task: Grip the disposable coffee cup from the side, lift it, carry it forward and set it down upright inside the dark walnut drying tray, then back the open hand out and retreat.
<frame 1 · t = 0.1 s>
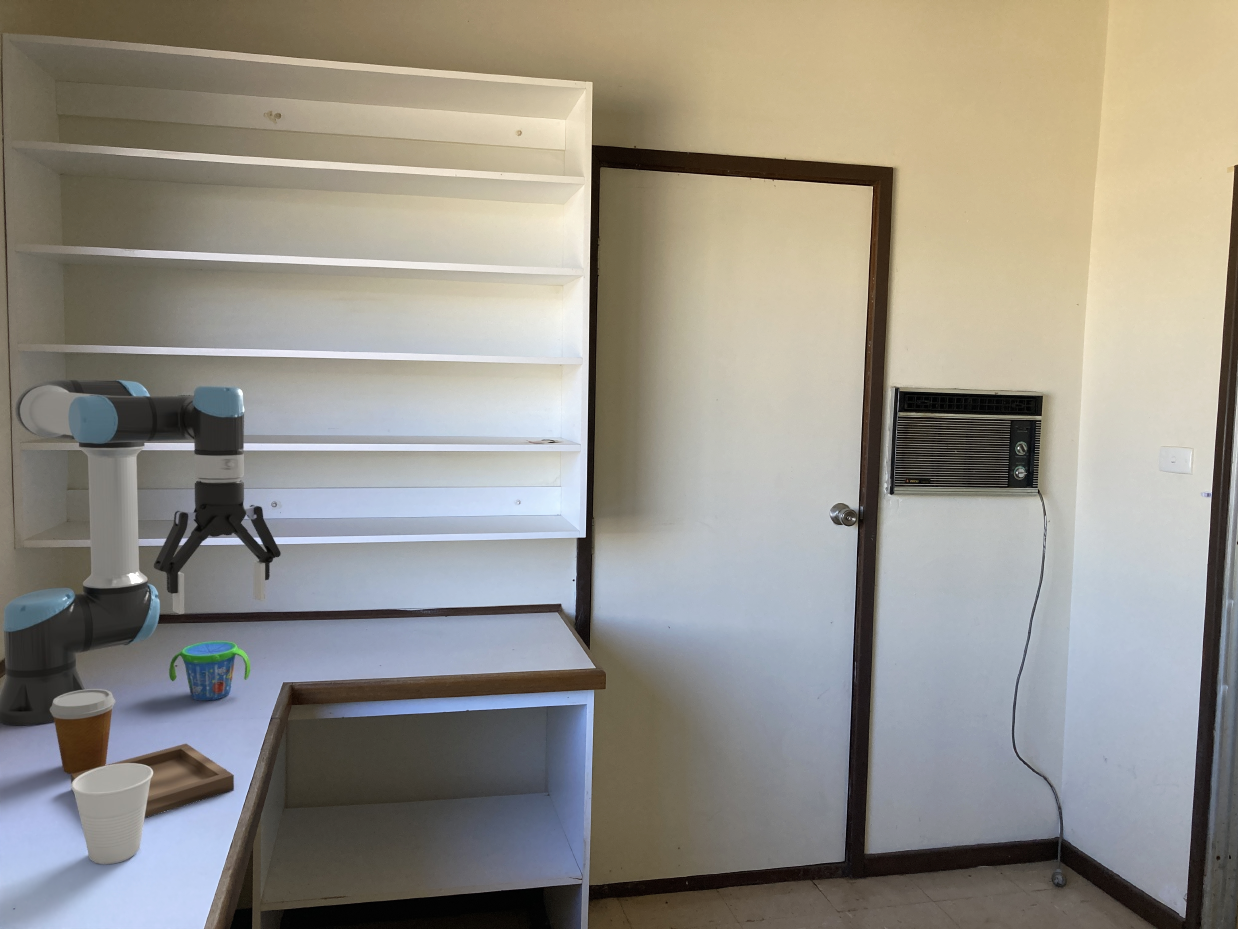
hand: (220, 605, 154), 28 cm above the counter, tool pointing down, fingers open, 13 cm apart
cup: (114, 855, 127), on the counter
snack cup: (210, 696, 191), on the counter
drying tray: (152, 789, 147), on the counter
disposable coffee cup: (84, 767, 155), on the counter
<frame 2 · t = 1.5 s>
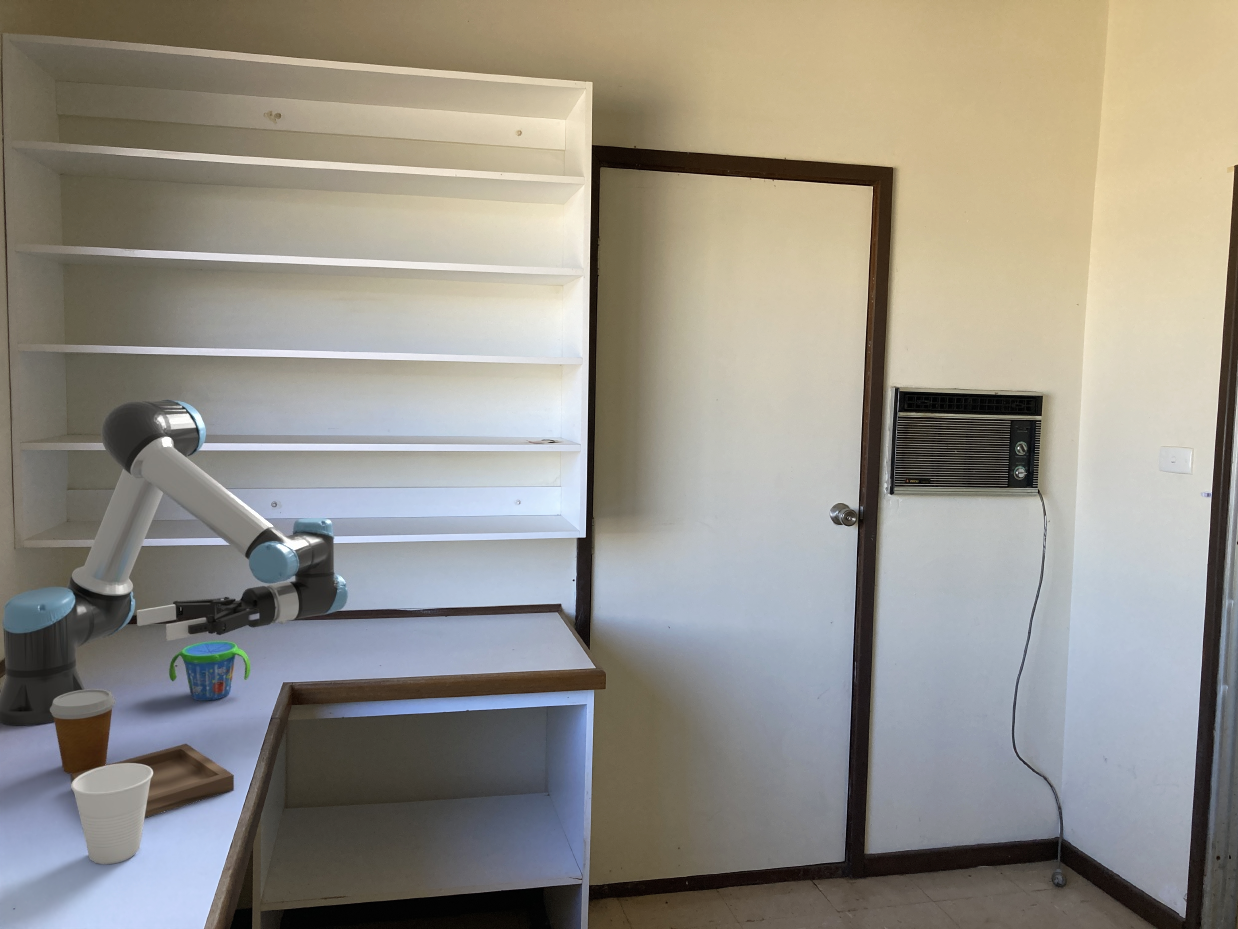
hand: (151, 625, 162), 22 cm above the counter, tool horizontal, fingers open, 13 cm apart
nothing on the counter moved.
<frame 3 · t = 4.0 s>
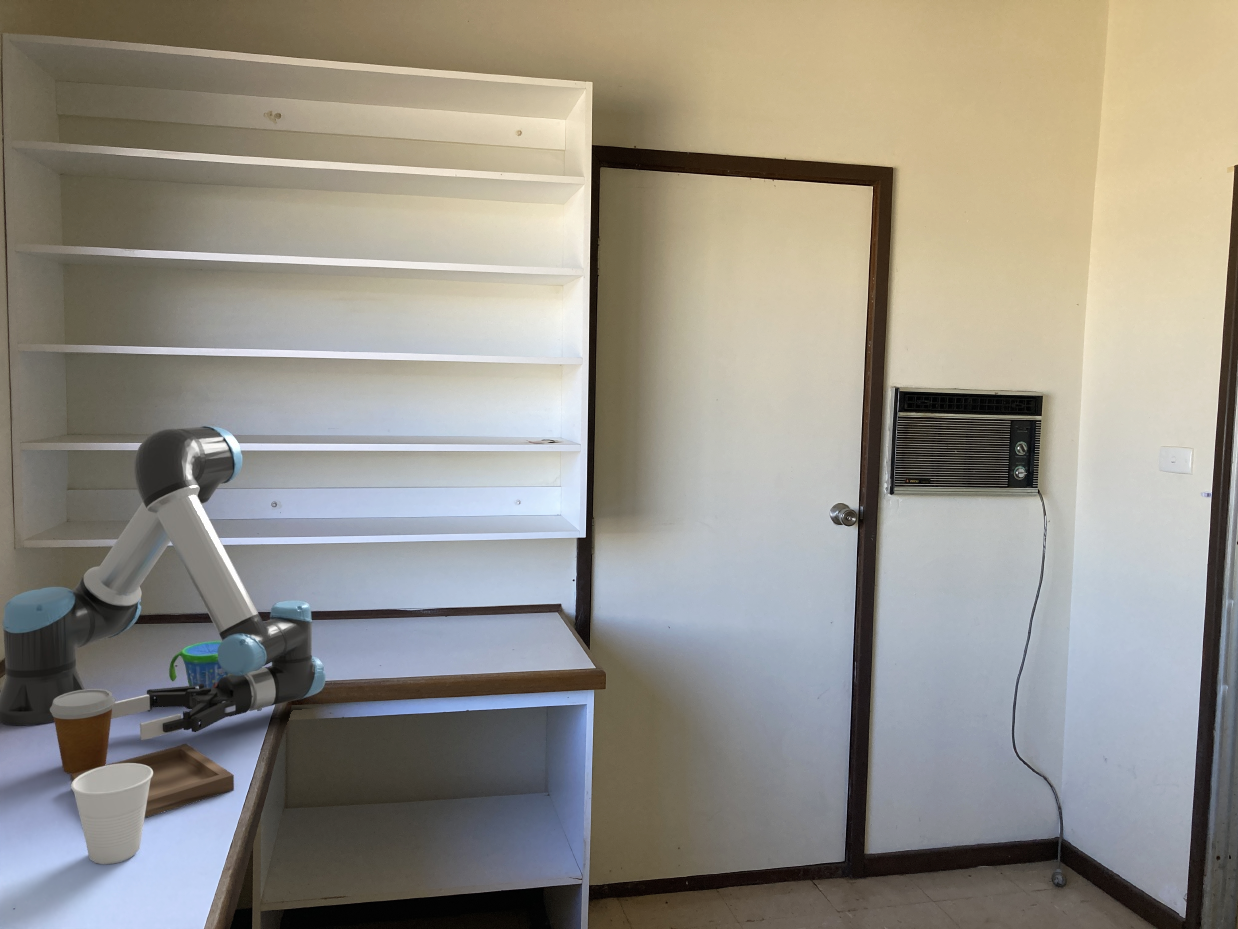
hand: (125, 721, 159), 6 cm above the counter, tool horizontal, fingers open, 13 cm apart
nothing on the counter moved.
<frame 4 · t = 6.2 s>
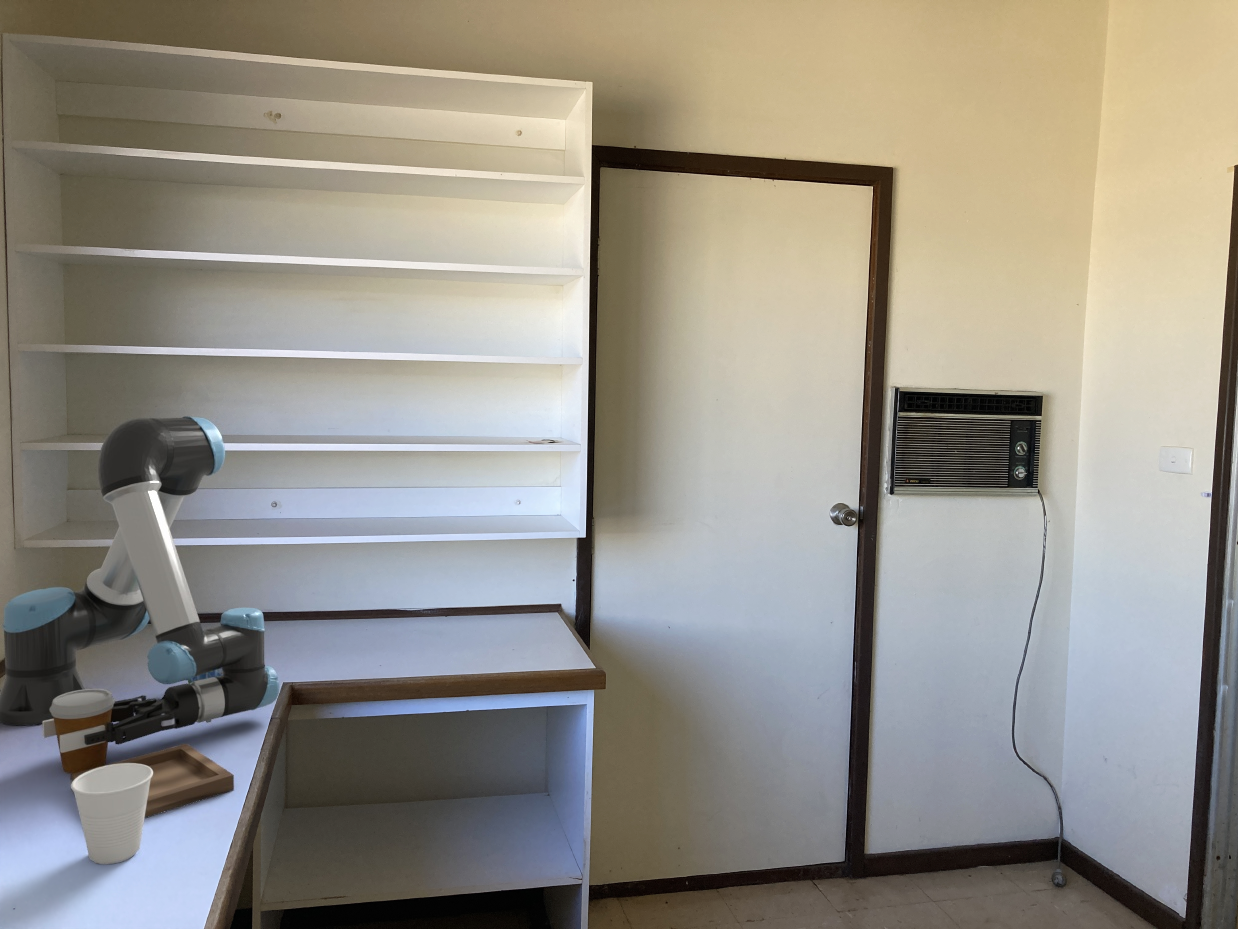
hand: (52, 736, 151), 6 cm above the counter, tool horizontal, fingers closed on disposable coffee cup, 8 cm apart
disposable coffee cup: (84, 767, 155), on the counter, touching gripper
everything else where it was.
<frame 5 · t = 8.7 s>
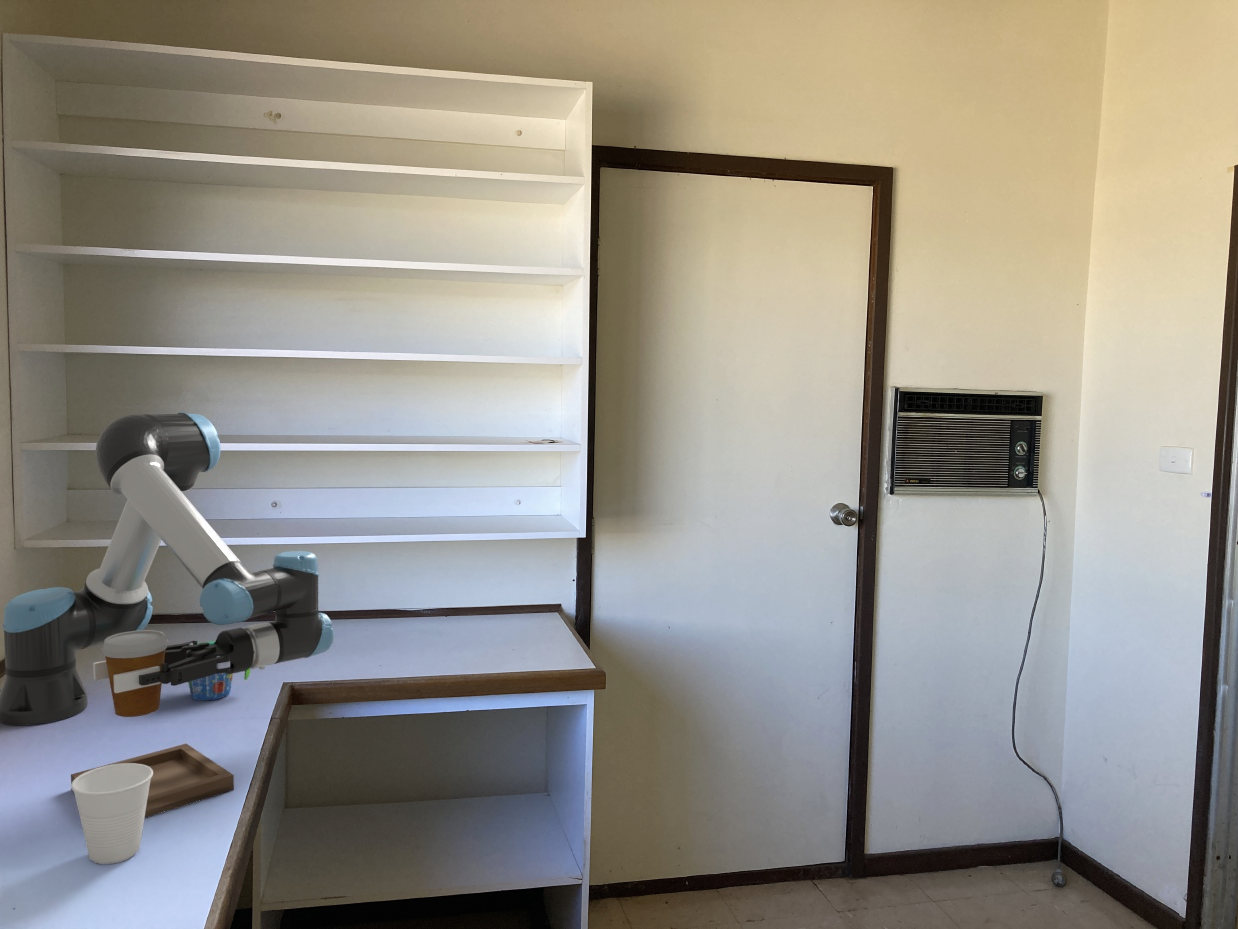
hand: (104, 677, 144), 19 cm above the counter, tool horizontal, fingers closed on disposable coffee cup, 8 cm apart
disposable coffee cup: (137, 711, 148), point 12 cm above the counter, touching gripper
everything else where it was.
when the fingers open (9 cm above the counter, at t = 11.2 s): disposable coffee cup drops 1 cm, resting on drying tray.
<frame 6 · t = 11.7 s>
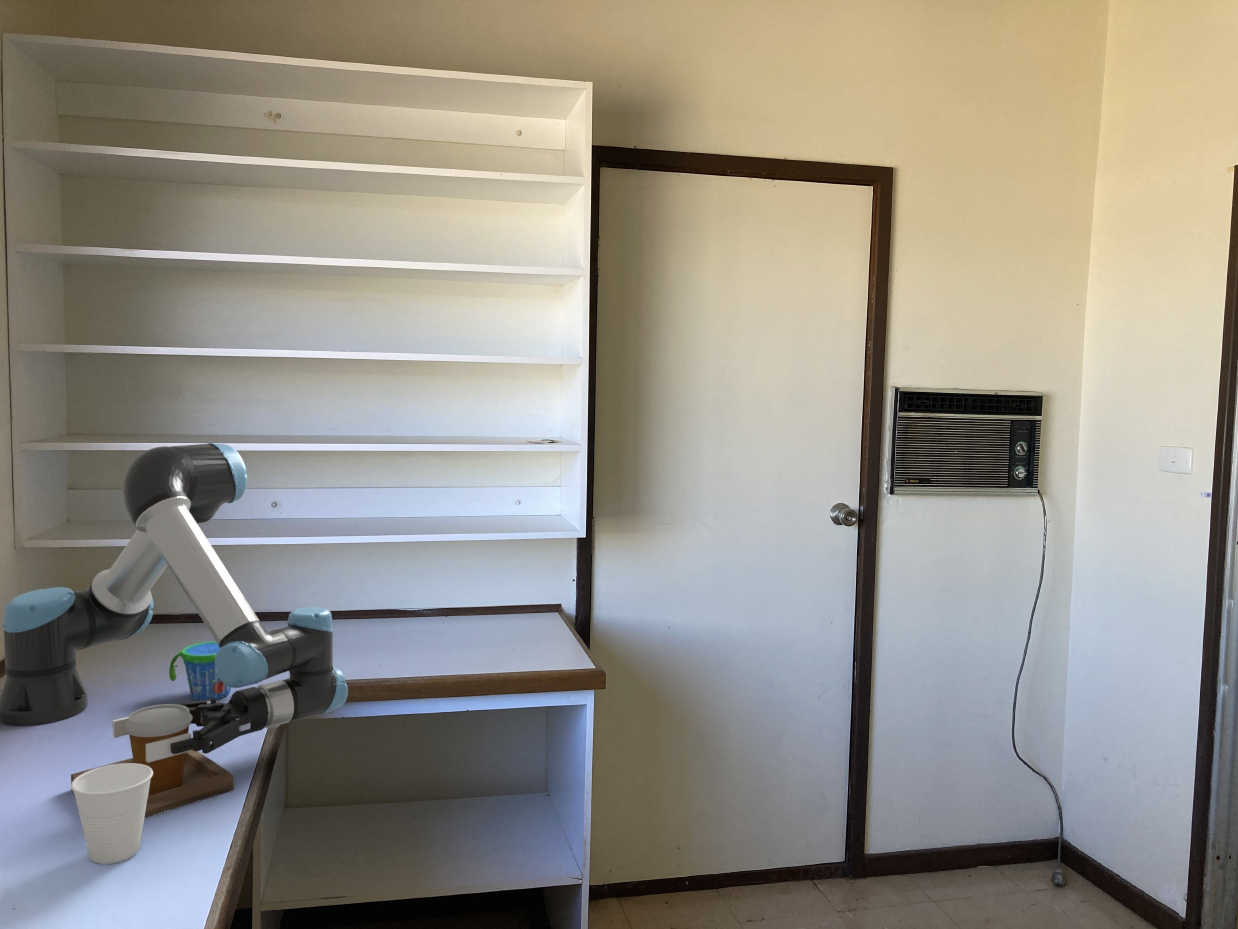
hand: (129, 741, 144), 9 cm above the counter, tool horizontal, fingers open, 13 cm apart
disposable coffee cup: (160, 788, 146), point 1 cm above the counter, touching drying tray, gripper
everything else where it was.
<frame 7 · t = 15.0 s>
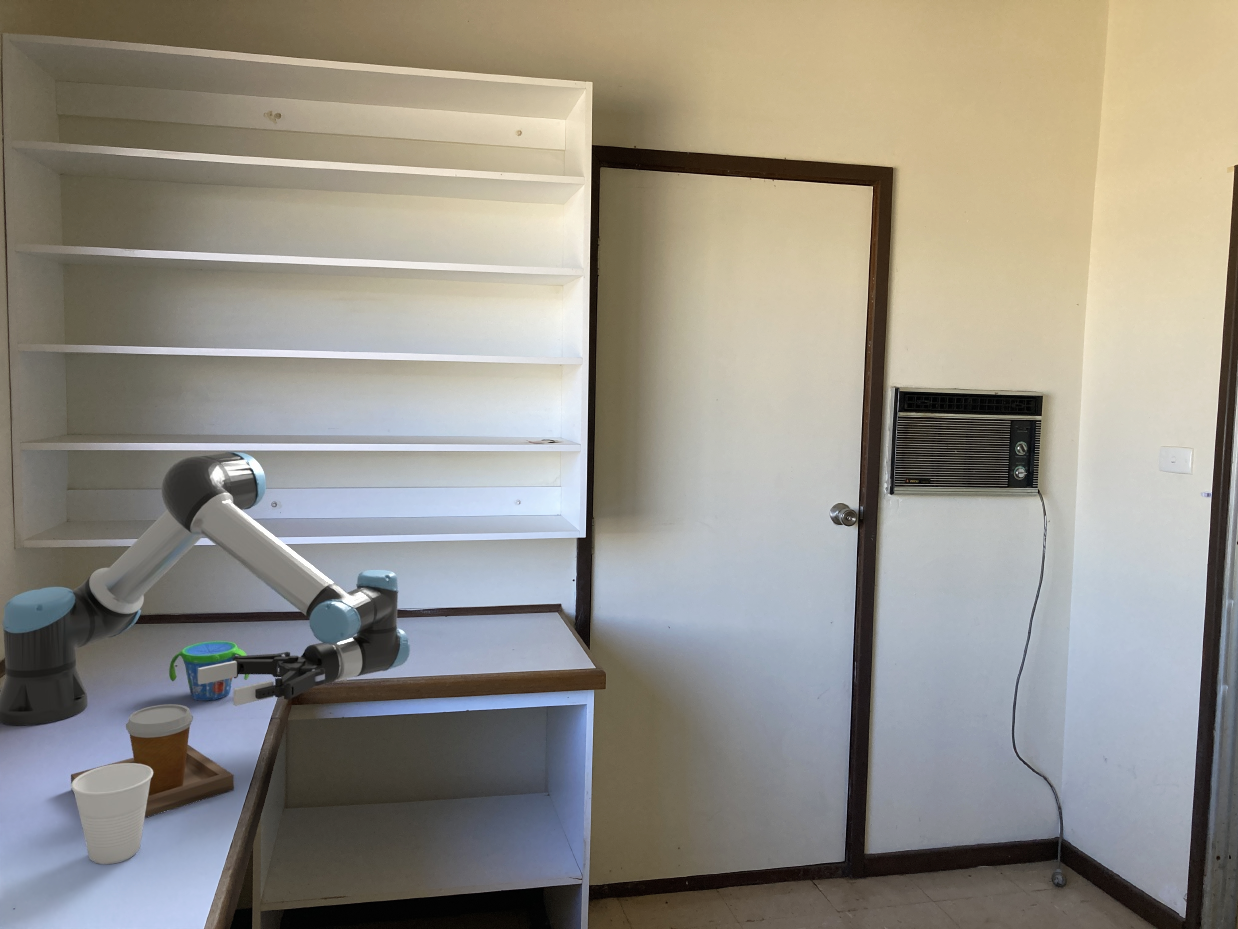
hand: (215, 686, 155), 14 cm above the counter, tool horizontal, fingers open, 13 cm apart
disposable coffee cup: (161, 788, 146), point 1 cm above the counter, touching drying tray
everything else where it was.
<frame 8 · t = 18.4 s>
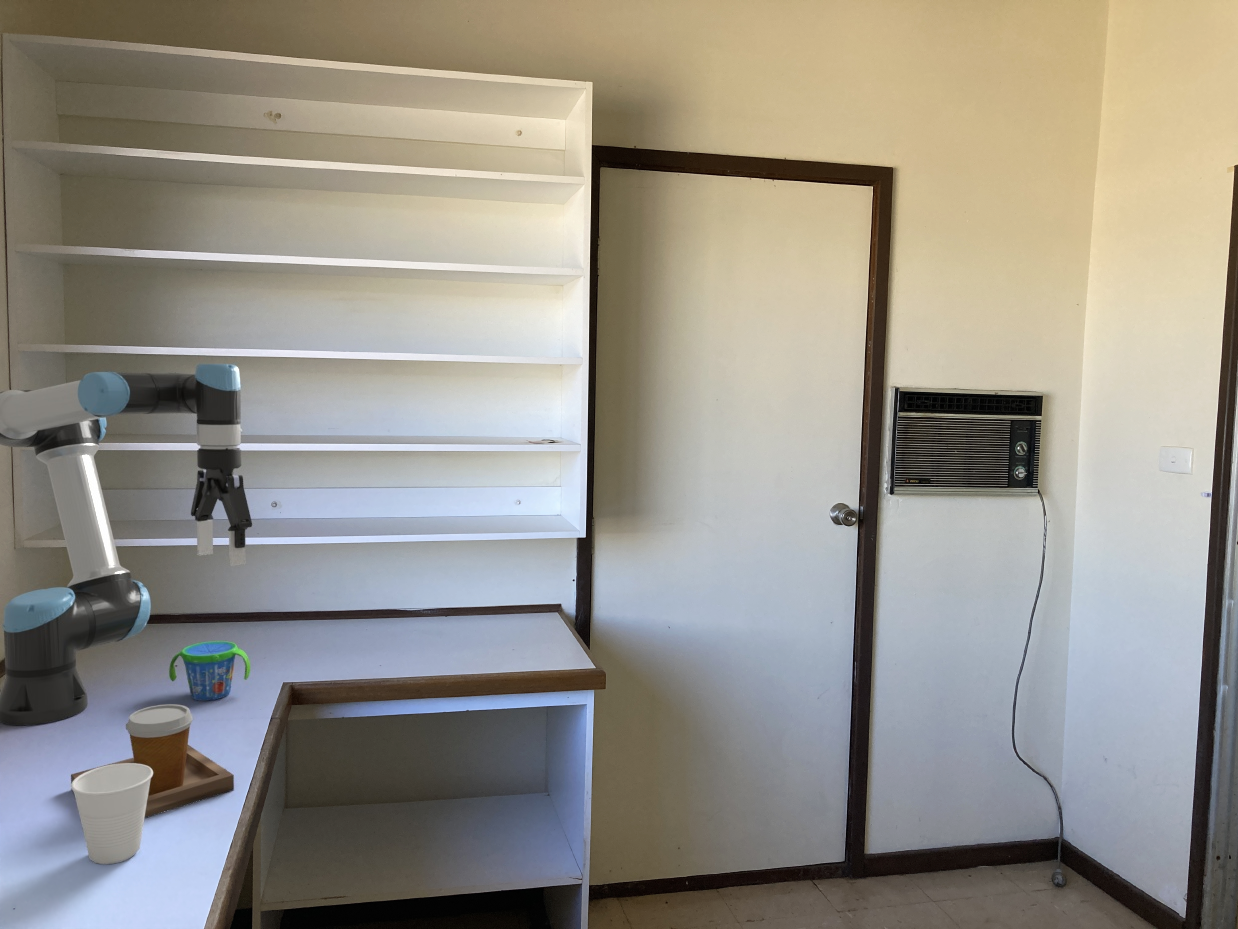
hand: (221, 559, 173), 32 cm above the counter, tool pointing down, fingers open, 13 cm apart
nothing on the counter moved.
at the end: disposable coffee cup inside the target area on the drying tray (2.3 cm from its centre), point 0.8 cm above the drying tray's base; disposable coffee cup tilted 0°; the gripper is holding nothing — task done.
